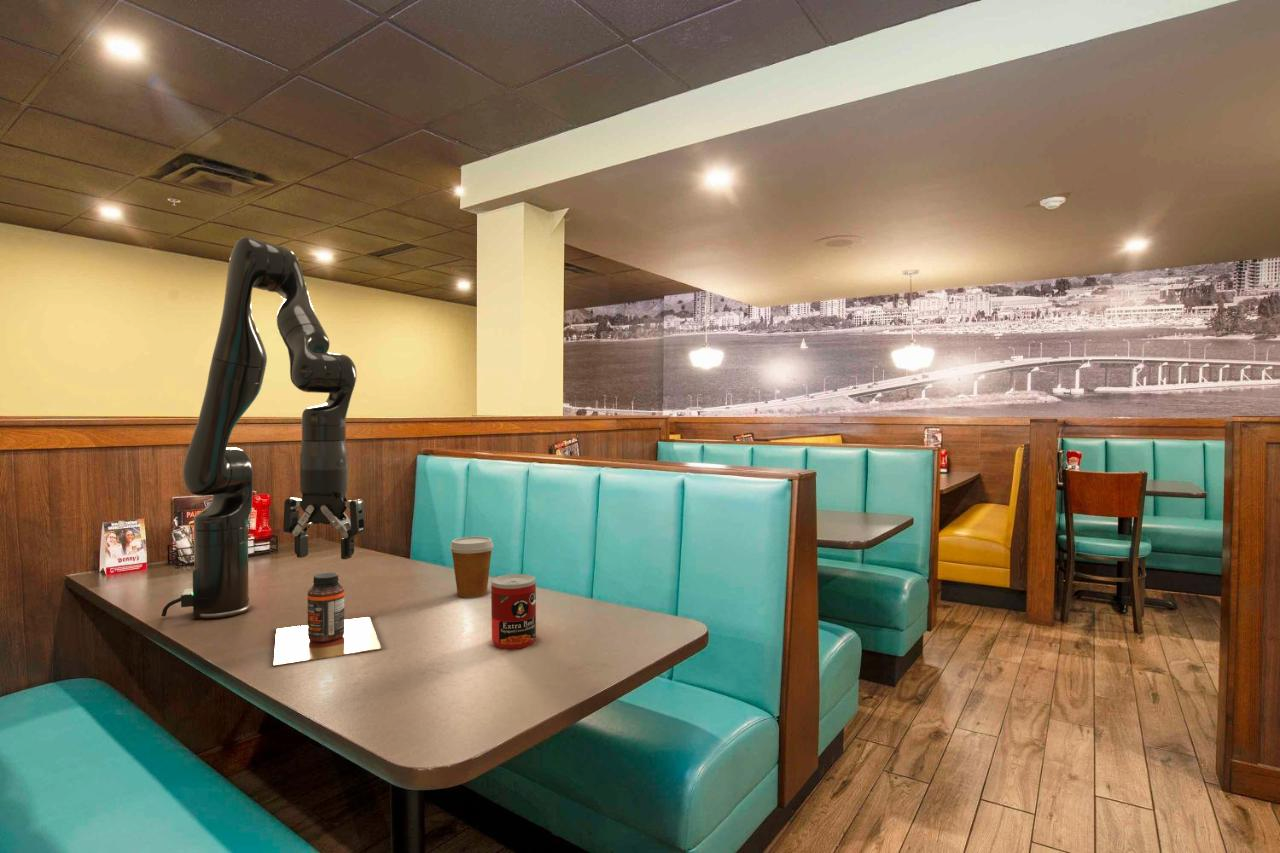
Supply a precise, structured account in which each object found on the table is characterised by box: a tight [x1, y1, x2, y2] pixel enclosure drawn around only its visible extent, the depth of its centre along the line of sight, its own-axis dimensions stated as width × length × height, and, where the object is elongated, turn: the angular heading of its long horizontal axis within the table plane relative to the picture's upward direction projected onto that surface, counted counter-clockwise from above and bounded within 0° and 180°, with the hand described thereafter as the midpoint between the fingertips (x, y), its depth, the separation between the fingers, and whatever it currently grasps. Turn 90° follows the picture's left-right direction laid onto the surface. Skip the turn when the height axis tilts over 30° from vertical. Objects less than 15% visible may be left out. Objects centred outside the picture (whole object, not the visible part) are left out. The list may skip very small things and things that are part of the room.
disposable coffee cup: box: [449, 536, 495, 599], centre depth 147 cm, size 10×10×12 cm
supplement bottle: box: [307, 571, 346, 643], centre depth 118 cm, size 6×6×11 cm
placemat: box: [273, 616, 382, 667], centre depth 118 cm, size 16×20×1 cm
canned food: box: [490, 573, 537, 650], centre depth 116 cm, size 8×8×11 cm
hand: (324, 557), depth 117 cm, fingers open, 8 cm apart
